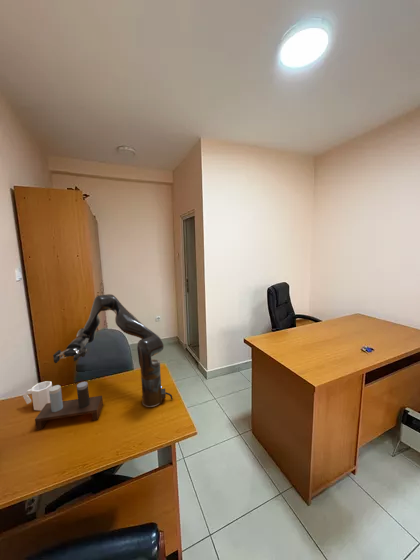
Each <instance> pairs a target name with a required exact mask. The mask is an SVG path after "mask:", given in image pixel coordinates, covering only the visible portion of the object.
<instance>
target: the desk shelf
mask: <svg viewBox="0 0 420 560" xmlns="http://www.w3.org/2000/svg"><path fill="white" fill-rule="evenodd" d="M103 400H104V399H103V395H97V396H89V401H90V404H89V405H88V406H87V407H84V408H80V407H79V404H78V398H76V399H75V398H74V399H70V400H63V408H62V409H61V410H59V411H57V412H52V411H51V404H50V403H47V404H46V405H45V406H44V408H43V409H42V410H41V411H39V413H38V414H37V416H36V417H35V418H34V422H35V423H34V424H35V430H36V431H37V430H42V429H43V428H44V426H45V425H46V423H47V421H49V420H55V419H62V418H69V417H73V416H81V415H87V414H91V417H92V421H99V420H98V419H99V417H100V415H101V411H102V410H103V407H104V401H103Z"/></svg>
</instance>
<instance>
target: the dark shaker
mask: <svg viewBox="0 0 420 560" xmlns="http://www.w3.org/2000/svg"><path fill="white" fill-rule="evenodd" d="M76 393H77V399H78V404H79V407H80V408H84V407H87V406H88V405H89V404H90V401H89V397H90V392H89V383H88V382H87V381H81V382H79V383H78V384H77V385H76Z"/></svg>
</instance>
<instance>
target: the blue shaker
mask: <svg viewBox="0 0 420 560" xmlns="http://www.w3.org/2000/svg"><path fill="white" fill-rule="evenodd" d="M62 393H63V392H62V387H61V385H59V384H56V385H52V387H51V388H50V389H49V396H50V404H51V411H52V412H57V411H59V410H61V409H62V408H63V401H64V400H63V394H62Z"/></svg>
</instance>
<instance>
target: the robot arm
mask: <svg viewBox="0 0 420 560" xmlns="http://www.w3.org/2000/svg"><path fill="white" fill-rule="evenodd" d="M108 311H112V312H113V313H114V314H115V317H114V318H115V319H114V321H115V322H114V323H115V324H116V326H117V328H119V329H120V330H121V331H122V332H123V333H124V334H127V335H130V336H131V337H132V336H133V337H136V338H139V339H140V340H138V342H137V345H136V346H137V347H136V348H137V357H138V364H139V367H140V381H141V399H142V406H144V407H146V408H148V409H149V408H156V407H158V406H159V405H162V404H163V399H166V398H167V395H168V396H169V397H170V400H173V398H174V397H173V395H172V394H171V393H170V392H166V387H165V388H162V387H163V386H162V376H161V374H162V373H161V362H160V360H158V359H155V358H152V357H153V356H157V355H158V354H159V353H161V352H162V351H163V350H164V342H163V340H162V338H161V337H160V335H158V334H156V332H154V331H153V330H152V329H149V328H148V327H147V326H146V325H144V324H143V323H142V322H141V321H140V320H139V319H138V318H137V317H136V316H135V315H134V314H132V313H131V312H130V311H129V310H128V309H127V308H126V307H125V306H124V305H123V304H122V303H121V302H120V300H119V299H118V298H117V297H116V296H115V295H114V294H111V293H108V294H98V295H96V296H95V297H94V300H93V303H92V306H91V309H90V313H89V316H88V318H87V321H86V322H85V324H84V327H81V328H80V329H79V330H78V331H77V333H76V337H75V338H74V339H73V340H71V342H70V343H68V345H67V347H66V348H65V349H64V350H63V351H62V350H61V349H59V350H57V351H56V352H55V353H54V354H53V355H52V358H53V363H54V364H57V363H58V362H59V361H60V360H62V359H66V358H70V357H73V362H76V361H78V360H79V359H80V358H81V357H82V358H85V356H86V354H87V352H88V351H87V350H88V349H87V347H86V346H87V345H88V343H89V344H91V343H92V342H93V341H94V340H95V339H96V336H97V330H98V328H99V326H100V325H101V317H100V315H99V314H100V313H101V312H108Z"/></svg>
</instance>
